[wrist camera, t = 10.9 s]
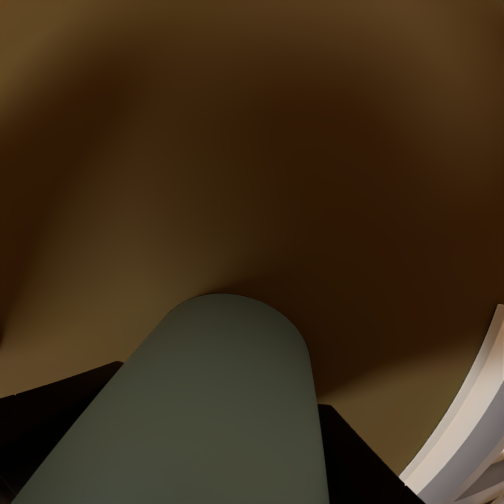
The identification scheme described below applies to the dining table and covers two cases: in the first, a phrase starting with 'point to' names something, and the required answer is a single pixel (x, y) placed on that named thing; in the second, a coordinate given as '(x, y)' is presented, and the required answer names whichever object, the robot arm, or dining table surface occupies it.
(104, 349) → the dining table surface
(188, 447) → the teal cylinder
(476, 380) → the tray
